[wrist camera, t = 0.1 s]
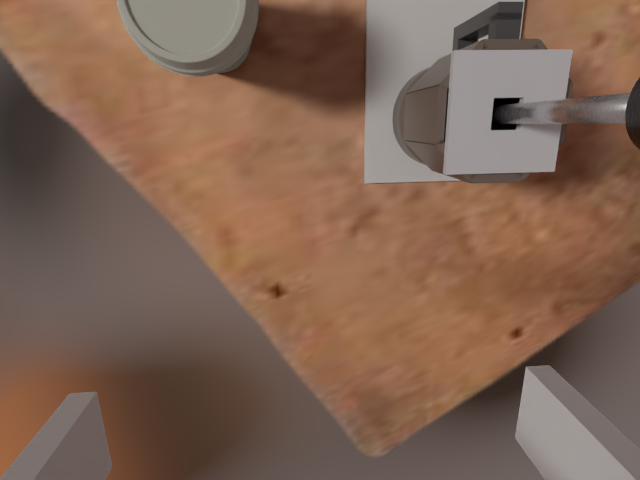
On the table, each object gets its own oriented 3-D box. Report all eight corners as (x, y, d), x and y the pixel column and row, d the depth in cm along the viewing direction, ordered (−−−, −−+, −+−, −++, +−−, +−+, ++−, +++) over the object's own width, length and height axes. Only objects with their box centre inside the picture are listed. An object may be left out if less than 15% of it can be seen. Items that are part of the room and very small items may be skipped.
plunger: (475, 86, 26) (768, 25, 10) (528, 85, 26) (895, 25, 10) (470, 142, 27) (729, 168, 11) (521, 141, 27) (846, 165, 11)
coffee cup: (274, -7, 34) (266, -75, 22) (259, 98, 36) (246, 85, 24) (171, -31, 33) (106, -115, 21) (163, 79, 35) (101, 56, 23)
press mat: (367, -56, 33) (368, -59, 33) (527, -54, 34) (531, -57, 33) (364, 182, 39) (364, 183, 38) (501, 178, 40) (504, 179, 39)
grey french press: (394, 38, 35) (446, -4, 23) (493, 38, 35) (591, -4, 24) (390, 167, 38) (434, 185, 26) (481, 164, 39) (562, 181, 27)
